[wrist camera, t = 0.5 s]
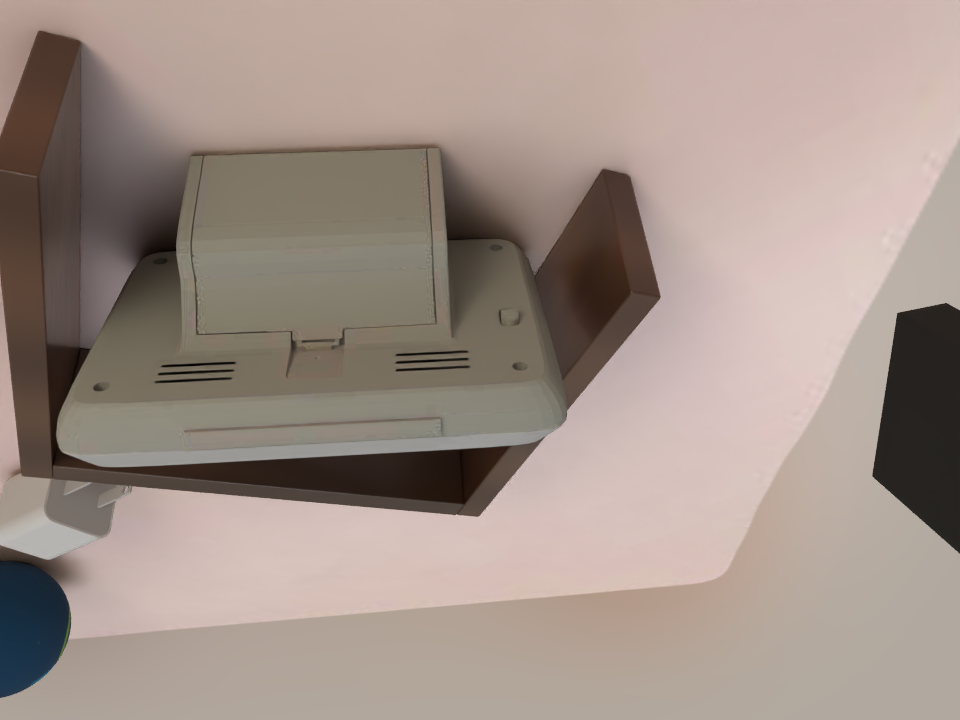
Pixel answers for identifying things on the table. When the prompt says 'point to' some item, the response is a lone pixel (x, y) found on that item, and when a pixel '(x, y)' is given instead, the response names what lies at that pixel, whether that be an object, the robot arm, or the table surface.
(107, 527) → the usb wall charger
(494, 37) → the table surface
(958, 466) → the robot arm
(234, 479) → the walnut rack
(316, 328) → the digital clock
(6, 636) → the christmas ornament
